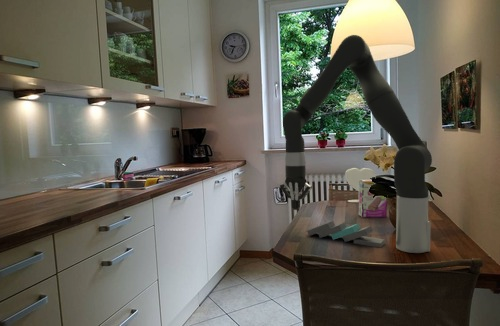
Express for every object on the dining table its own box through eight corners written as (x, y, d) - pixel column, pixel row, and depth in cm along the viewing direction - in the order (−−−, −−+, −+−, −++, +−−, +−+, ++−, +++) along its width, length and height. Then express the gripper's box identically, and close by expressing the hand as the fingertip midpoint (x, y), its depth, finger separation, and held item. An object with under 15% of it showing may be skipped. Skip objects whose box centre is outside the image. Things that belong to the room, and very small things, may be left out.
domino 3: (330, 234, 128) (352, 226, 123) (336, 231, 132) (358, 223, 127) (333, 239, 128) (354, 232, 122) (339, 236, 132) (360, 228, 126)
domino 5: (353, 239, 123) (380, 243, 118) (358, 235, 128) (384, 239, 122) (353, 244, 124) (380, 249, 118) (358, 241, 128) (384, 245, 123)
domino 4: (342, 236, 125) (365, 229, 120) (348, 232, 129) (370, 225, 124) (344, 242, 125) (367, 234, 120) (350, 238, 129) (373, 230, 123)
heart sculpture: (374, 200, 198) (374, 167, 196) (375, 202, 193) (375, 168, 191) (345, 200, 201) (345, 167, 199) (345, 201, 196) (345, 168, 194)
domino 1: (306, 230, 134) (327, 223, 129) (312, 227, 138) (332, 220, 133) (309, 236, 133) (329, 228, 128) (314, 232, 137) (335, 225, 132)
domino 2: (317, 232, 131) (339, 225, 126) (323, 229, 135) (344, 222, 130) (320, 238, 131) (341, 230, 126) (325, 234, 135) (346, 227, 130)
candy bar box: (362, 218, 158) (362, 181, 157) (358, 215, 163) (358, 179, 162) (387, 217, 159) (387, 180, 157) (382, 214, 164) (383, 179, 162)
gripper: (275, 164, 137) (276, 209, 138) (307, 165, 130) (308, 213, 131) (284, 163, 143) (285, 206, 144) (315, 163, 136) (316, 209, 137)
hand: (296, 209), depth 138 cm, fingers closed
